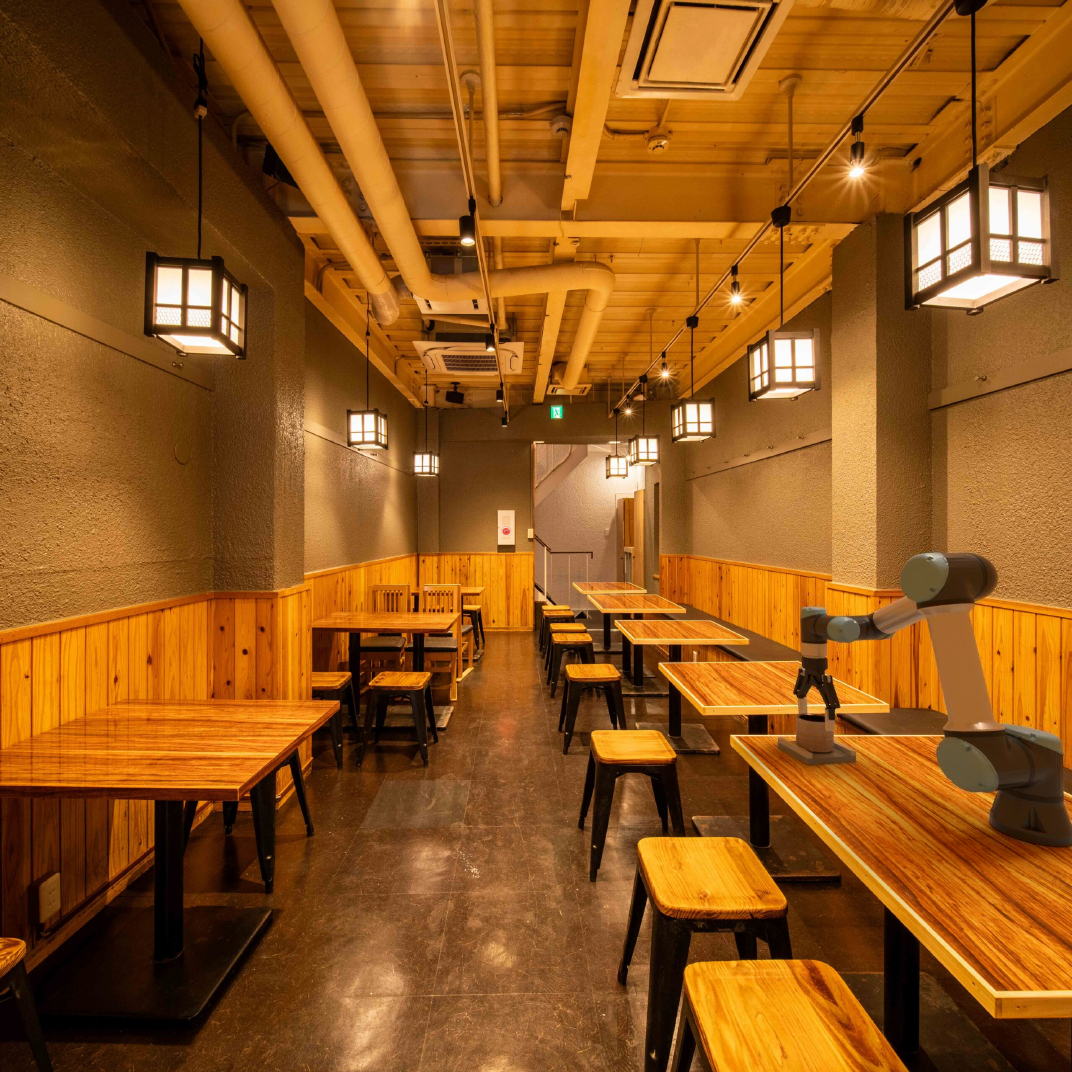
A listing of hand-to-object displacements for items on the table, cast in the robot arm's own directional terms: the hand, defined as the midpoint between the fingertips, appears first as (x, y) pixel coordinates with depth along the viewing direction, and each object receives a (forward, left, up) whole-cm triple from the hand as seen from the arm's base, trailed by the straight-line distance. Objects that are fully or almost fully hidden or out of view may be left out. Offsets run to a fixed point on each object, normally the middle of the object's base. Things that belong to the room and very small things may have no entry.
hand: (816, 724), depth 186 cm
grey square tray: (0, 0, -10) cm, 10 cm away
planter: (+1, 0, -8) cm, 8 cm away
